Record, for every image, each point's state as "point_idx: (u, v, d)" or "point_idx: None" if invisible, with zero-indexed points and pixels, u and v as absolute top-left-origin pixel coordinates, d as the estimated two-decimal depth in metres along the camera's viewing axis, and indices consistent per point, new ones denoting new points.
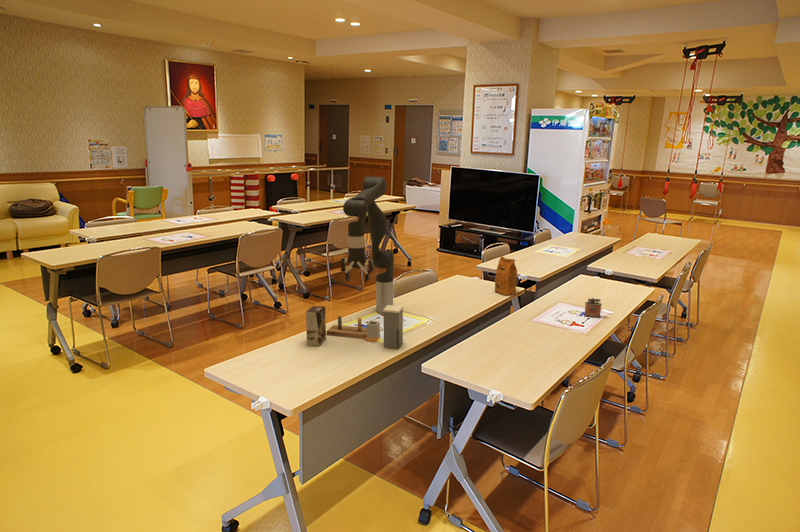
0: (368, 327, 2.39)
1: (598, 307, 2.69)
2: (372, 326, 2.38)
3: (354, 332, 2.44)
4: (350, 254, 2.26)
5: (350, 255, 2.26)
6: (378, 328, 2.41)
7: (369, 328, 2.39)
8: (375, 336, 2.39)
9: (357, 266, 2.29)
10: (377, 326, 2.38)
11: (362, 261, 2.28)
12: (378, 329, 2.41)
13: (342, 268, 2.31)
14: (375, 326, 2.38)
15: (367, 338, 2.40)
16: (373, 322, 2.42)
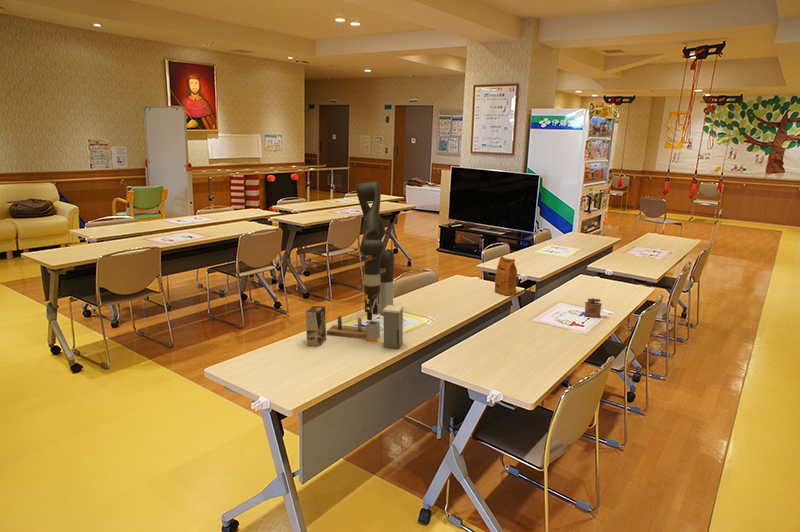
0: (368, 327, 2.39)
1: (598, 307, 2.69)
2: (372, 326, 2.38)
3: (354, 332, 2.44)
4: (377, 291, 2.34)
5: (377, 292, 2.34)
6: (378, 328, 2.41)
7: (369, 328, 2.39)
8: (375, 336, 2.39)
9: (375, 302, 2.38)
10: (377, 326, 2.38)
11: (376, 295, 2.40)
12: (378, 329, 2.41)
13: (370, 309, 2.32)
14: (375, 326, 2.38)
15: (367, 338, 2.40)
16: (373, 322, 2.42)
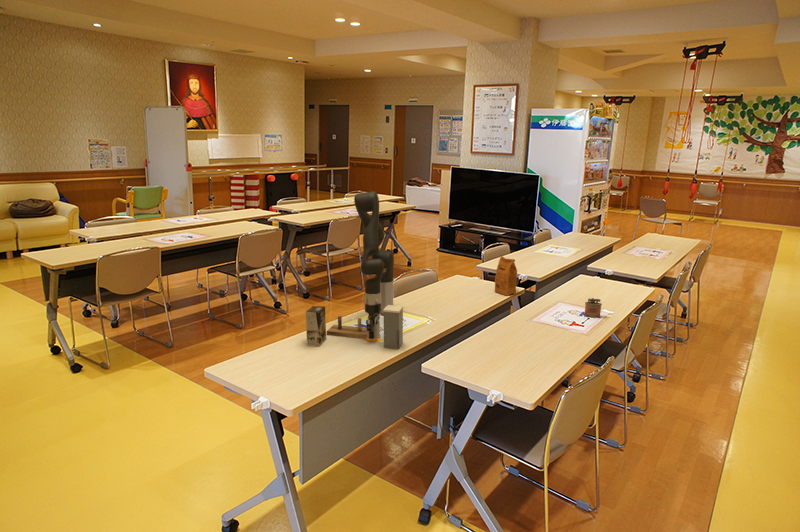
0: None
1: (598, 307, 2.69)
2: (372, 326, 2.38)
3: (354, 332, 2.44)
4: (378, 310, 2.36)
5: (378, 311, 2.36)
6: (378, 328, 2.41)
7: None
8: (375, 336, 2.39)
9: None
10: (377, 326, 2.38)
11: (377, 313, 2.42)
12: (378, 329, 2.41)
13: (372, 328, 2.35)
14: (375, 326, 2.38)
15: (367, 338, 2.40)
16: None
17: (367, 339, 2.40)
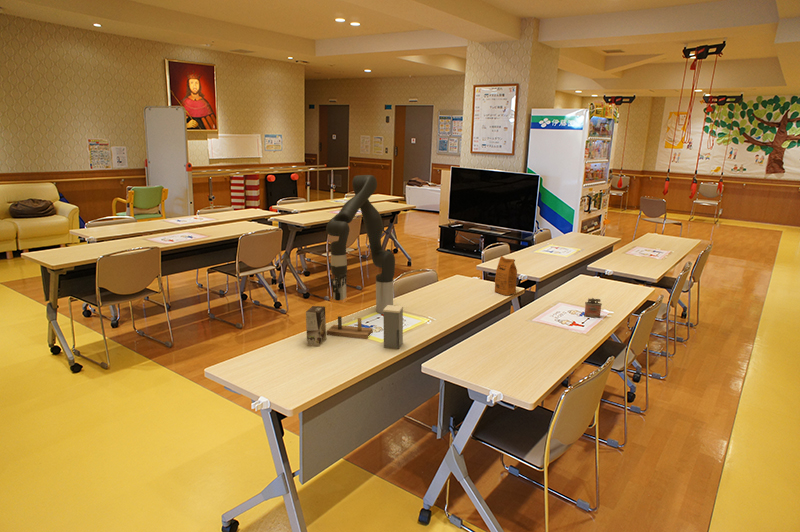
0: None
1: (598, 307, 2.69)
2: (338, 288, 2.42)
3: (354, 332, 2.44)
4: (344, 271, 2.40)
5: (344, 272, 2.40)
6: (344, 290, 2.45)
7: None
8: (341, 298, 2.43)
9: (341, 282, 2.44)
10: (343, 287, 2.42)
11: (343, 276, 2.46)
12: (344, 291, 2.45)
13: (338, 289, 2.40)
14: (341, 288, 2.42)
15: (334, 300, 2.44)
16: None
17: (333, 301, 2.44)
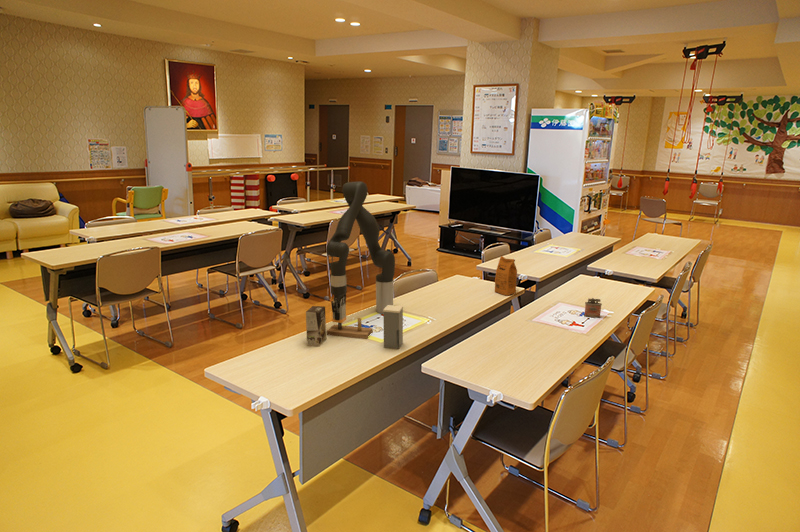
0: None
1: (598, 307, 2.69)
2: None
3: (354, 332, 2.44)
4: (343, 292, 2.43)
5: (343, 293, 2.43)
6: (344, 310, 2.47)
7: None
8: (341, 317, 2.46)
9: (341, 301, 2.46)
10: (342, 307, 2.45)
11: (343, 296, 2.48)
12: (344, 311, 2.48)
13: (337, 309, 2.42)
14: (340, 308, 2.44)
15: (333, 319, 2.47)
16: None
17: (333, 320, 2.47)
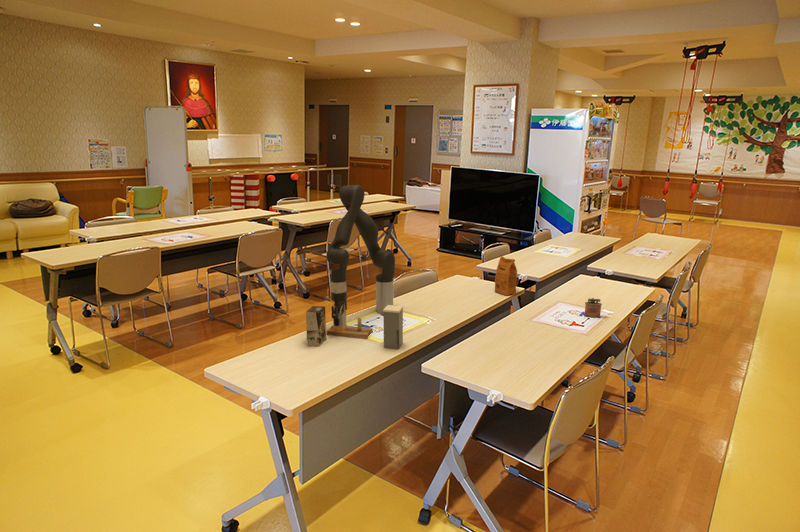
0: None
1: (598, 307, 2.69)
2: None
3: (354, 332, 2.44)
4: (344, 298, 2.43)
5: (344, 299, 2.44)
6: (344, 318, 2.49)
7: None
8: (341, 325, 2.47)
9: (341, 308, 2.48)
10: (343, 315, 2.46)
11: (343, 302, 2.49)
12: (344, 319, 2.49)
13: (337, 315, 2.42)
14: (341, 316, 2.45)
15: (334, 327, 2.48)
16: None
17: (334, 328, 2.48)
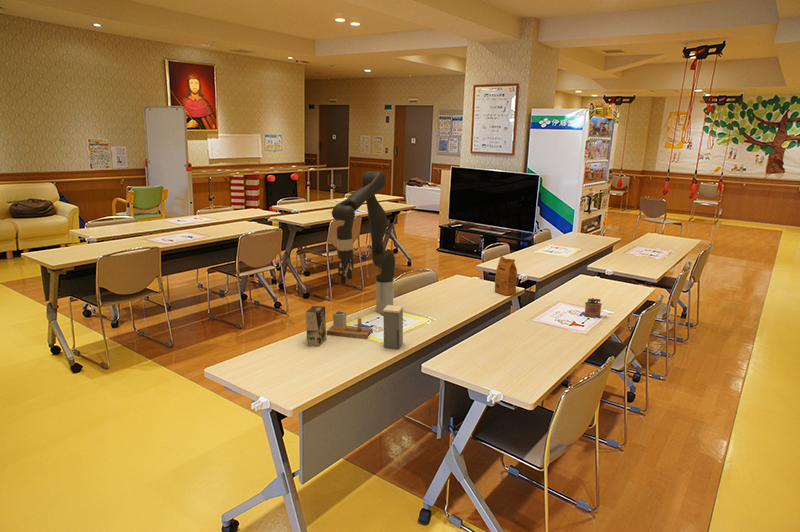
0: (335, 316, 2.46)
1: (598, 307, 2.69)
2: (338, 316, 2.46)
3: (354, 332, 2.44)
4: (350, 256, 2.41)
5: (350, 257, 2.41)
6: (344, 318, 2.49)
7: (336, 318, 2.46)
8: (341, 325, 2.47)
9: (348, 266, 2.45)
10: (343, 315, 2.46)
11: (350, 260, 2.47)
12: (344, 319, 2.49)
13: (343, 273, 2.39)
14: (341, 316, 2.45)
15: (334, 327, 2.48)
16: (340, 312, 2.50)
17: (334, 328, 2.48)
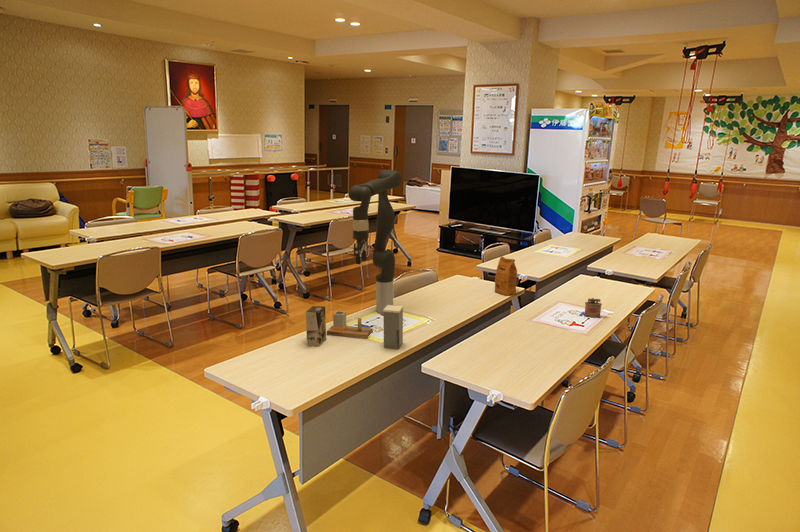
0: (335, 316, 2.46)
1: (598, 307, 2.69)
2: (338, 316, 2.46)
3: (354, 332, 2.44)
4: (366, 236, 2.44)
5: (366, 237, 2.44)
6: (344, 318, 2.49)
7: (336, 318, 2.46)
8: (341, 325, 2.47)
9: (363, 247, 2.48)
10: (343, 315, 2.46)
11: (365, 241, 2.50)
12: (344, 319, 2.49)
13: (359, 253, 2.42)
14: (341, 316, 2.45)
15: (334, 327, 2.48)
16: (340, 312, 2.50)
17: (334, 328, 2.48)
